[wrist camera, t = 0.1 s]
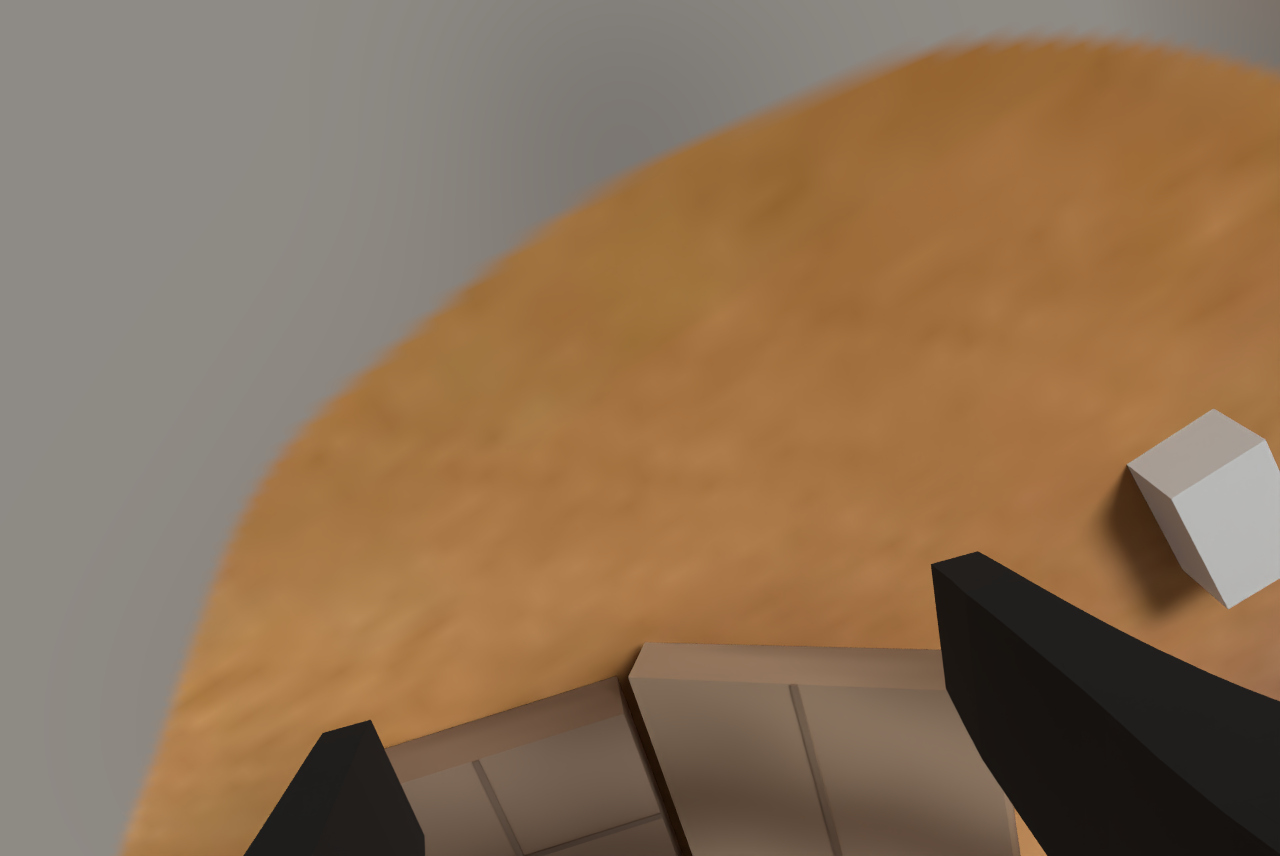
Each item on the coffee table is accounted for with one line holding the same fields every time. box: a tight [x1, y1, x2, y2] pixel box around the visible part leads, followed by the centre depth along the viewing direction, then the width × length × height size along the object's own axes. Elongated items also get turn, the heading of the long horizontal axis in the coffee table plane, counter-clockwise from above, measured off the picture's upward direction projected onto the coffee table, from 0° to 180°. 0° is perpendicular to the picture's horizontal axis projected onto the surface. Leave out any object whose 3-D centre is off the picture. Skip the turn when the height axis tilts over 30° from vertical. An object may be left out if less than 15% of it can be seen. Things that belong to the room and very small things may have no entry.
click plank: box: [628, 642, 1020, 856], centre depth 24 cm, size 10×8×1 cm
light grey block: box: [1127, 409, 1280, 609], centre depth 24 cm, size 4×2×2 cm, turn 35°
